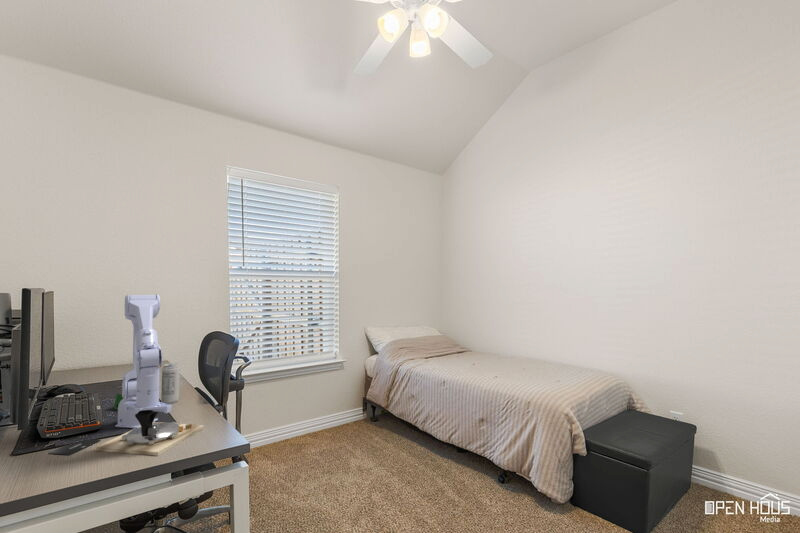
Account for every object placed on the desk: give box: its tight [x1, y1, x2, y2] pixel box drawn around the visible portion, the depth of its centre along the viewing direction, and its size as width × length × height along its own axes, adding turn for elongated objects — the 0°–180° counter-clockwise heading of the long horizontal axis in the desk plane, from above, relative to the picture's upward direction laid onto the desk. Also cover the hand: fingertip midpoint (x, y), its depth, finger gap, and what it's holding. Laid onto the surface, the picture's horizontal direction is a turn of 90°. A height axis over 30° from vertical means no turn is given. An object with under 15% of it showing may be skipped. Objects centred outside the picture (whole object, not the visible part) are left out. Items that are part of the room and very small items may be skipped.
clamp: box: [114, 393, 123, 411], centre depth 148 cm, size 12×6×9 cm, turn 77°
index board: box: [95, 421, 205, 457], centre depth 121 cm, size 20×20×2 cm
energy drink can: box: [160, 362, 180, 405], centre depth 156 cm, size 6×6×15 cm
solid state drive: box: [48, 438, 102, 456], centre depth 115 cm, size 7×10×1 cm
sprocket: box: [122, 421, 183, 445], centre depth 121 cm, size 16×16×4 cm
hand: (146, 435), depth 116 cm, fingers closed
